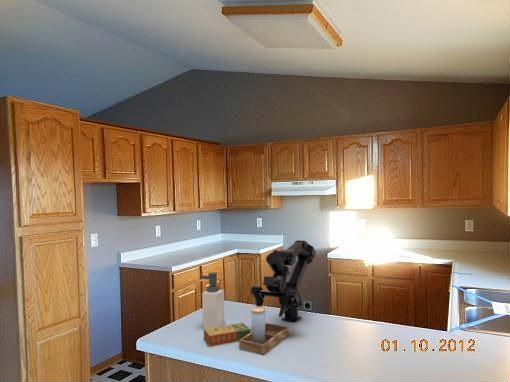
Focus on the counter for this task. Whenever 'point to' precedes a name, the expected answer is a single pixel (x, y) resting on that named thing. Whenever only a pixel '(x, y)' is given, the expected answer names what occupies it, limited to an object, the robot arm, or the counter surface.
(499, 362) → the counter surface
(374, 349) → the counter surface
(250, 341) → the caddy
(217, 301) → the soap dispenser
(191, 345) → the counter surface
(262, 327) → the jar
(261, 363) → the counter surface
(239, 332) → the carton
